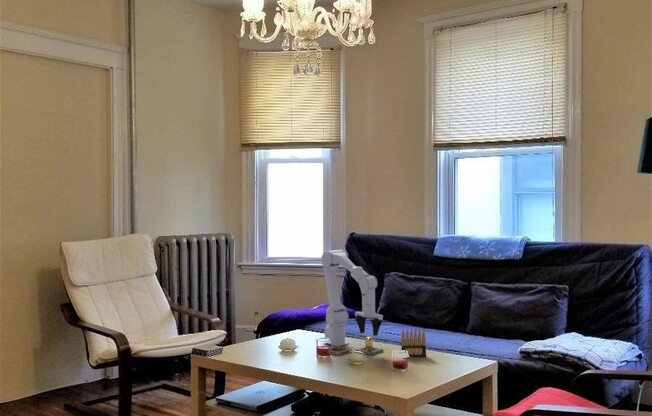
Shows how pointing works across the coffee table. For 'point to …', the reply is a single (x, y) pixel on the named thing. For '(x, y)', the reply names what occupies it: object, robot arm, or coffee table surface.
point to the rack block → (341, 351)
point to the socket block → (375, 351)
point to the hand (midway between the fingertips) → (368, 334)
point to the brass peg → (368, 344)
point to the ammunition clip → (415, 349)
